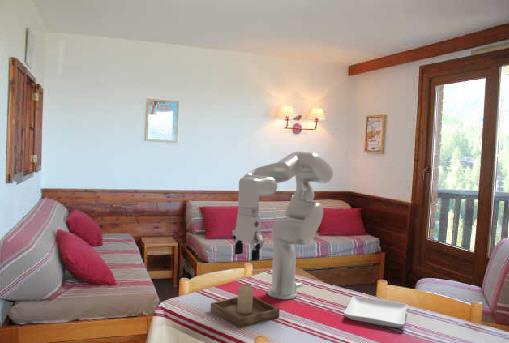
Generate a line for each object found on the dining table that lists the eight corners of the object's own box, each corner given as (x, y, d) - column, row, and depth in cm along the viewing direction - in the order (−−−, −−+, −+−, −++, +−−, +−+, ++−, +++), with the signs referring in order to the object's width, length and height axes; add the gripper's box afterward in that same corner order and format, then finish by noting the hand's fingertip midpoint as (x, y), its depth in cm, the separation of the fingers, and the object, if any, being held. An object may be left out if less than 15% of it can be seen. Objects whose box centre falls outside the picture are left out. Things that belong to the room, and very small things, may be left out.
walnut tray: (248, 301, 179) (249, 294, 178) (279, 316, 165) (279, 308, 164) (210, 310, 167) (210, 303, 167) (239, 328, 153) (239, 319, 153)
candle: (250, 315, 163) (251, 288, 162) (235, 313, 164) (237, 286, 163) (253, 309, 168) (254, 283, 168) (238, 307, 169) (240, 281, 169)
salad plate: (342, 321, 164) (343, 312, 163) (352, 302, 183) (353, 294, 183) (403, 333, 156) (404, 324, 156) (407, 312, 176) (407, 303, 175)
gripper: (271, 214, 160) (270, 261, 162) (241, 206, 174) (240, 250, 175) (255, 216, 156) (253, 264, 157) (226, 208, 169) (224, 253, 171)
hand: (246, 257), depth 166 cm, fingers open, 9 cm apart
